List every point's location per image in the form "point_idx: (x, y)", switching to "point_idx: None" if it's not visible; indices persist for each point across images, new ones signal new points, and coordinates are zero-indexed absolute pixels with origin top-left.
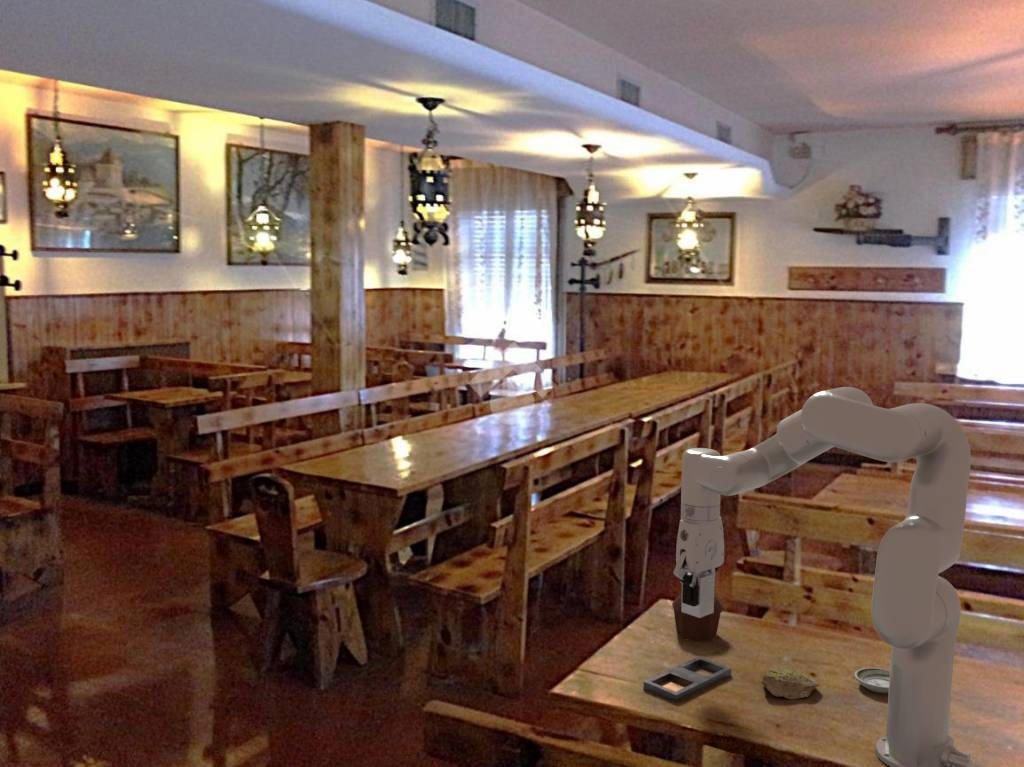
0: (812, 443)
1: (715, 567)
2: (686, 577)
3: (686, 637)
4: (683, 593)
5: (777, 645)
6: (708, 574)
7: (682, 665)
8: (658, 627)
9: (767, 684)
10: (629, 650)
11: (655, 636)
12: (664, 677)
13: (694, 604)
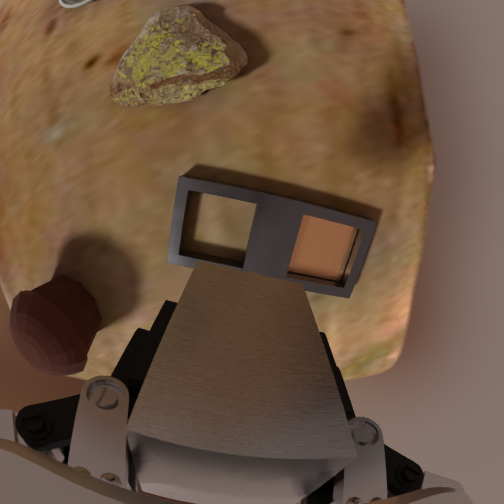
0: None
1: (123, 494)
2: (418, 475)
3: (98, 316)
4: None
5: (25, 175)
6: (200, 459)
7: None
8: (99, 360)
9: (240, 64)
10: None
11: None
12: (302, 278)
13: (324, 339)
